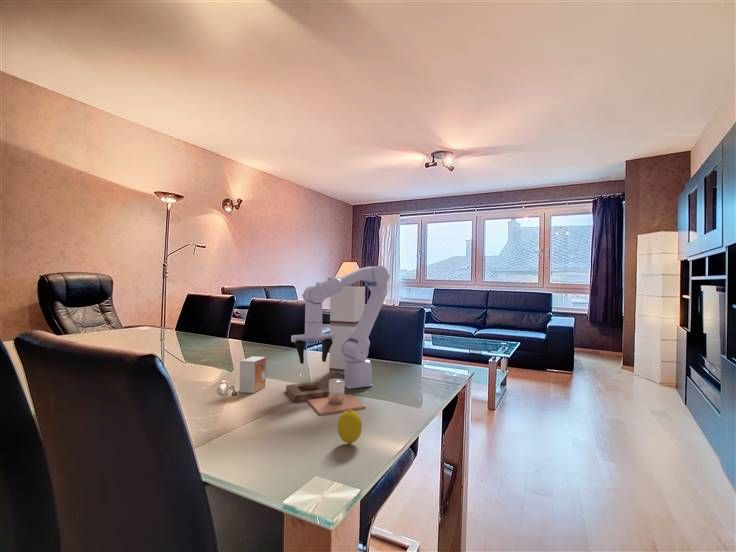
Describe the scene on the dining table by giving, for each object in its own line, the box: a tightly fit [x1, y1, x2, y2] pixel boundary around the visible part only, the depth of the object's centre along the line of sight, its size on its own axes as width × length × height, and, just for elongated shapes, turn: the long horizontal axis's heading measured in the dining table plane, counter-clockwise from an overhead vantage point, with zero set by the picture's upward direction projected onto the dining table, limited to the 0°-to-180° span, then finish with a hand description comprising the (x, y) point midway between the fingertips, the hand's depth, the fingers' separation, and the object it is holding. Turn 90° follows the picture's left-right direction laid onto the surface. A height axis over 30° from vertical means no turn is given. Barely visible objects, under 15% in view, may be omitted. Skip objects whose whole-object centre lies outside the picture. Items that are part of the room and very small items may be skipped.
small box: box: [238, 355, 267, 394], centre depth 124 cm, size 8×6×10 cm
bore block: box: [285, 381, 329, 403], centre depth 119 cm, size 12×12×2 cm
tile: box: [307, 394, 366, 416], centre depth 109 cm, size 14×12×1 cm
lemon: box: [337, 409, 363, 445], centre depth 83 cm, size 6×6×8 cm
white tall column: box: [328, 286, 366, 375], centre depth 151 cm, size 11×11×35 cm
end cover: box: [328, 378, 346, 405], centre depth 110 cm, size 5×5×6 cm
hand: (312, 362), depth 122 cm, fingers open, 7 cm apart
